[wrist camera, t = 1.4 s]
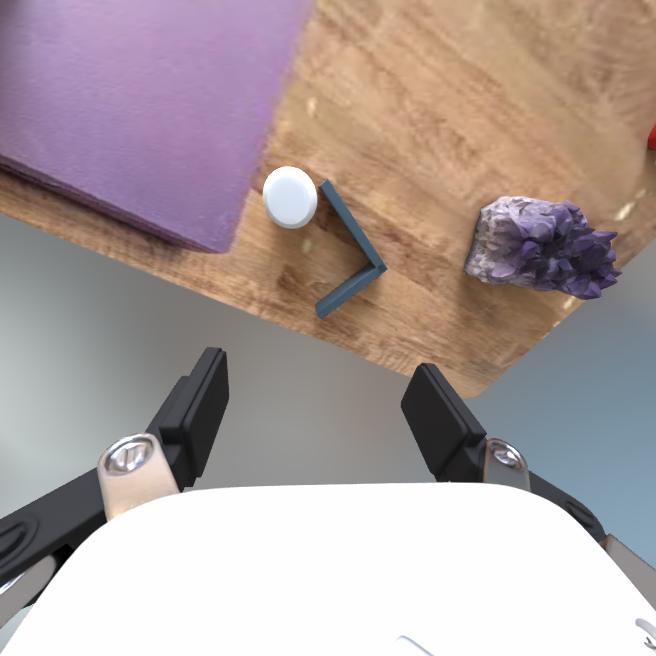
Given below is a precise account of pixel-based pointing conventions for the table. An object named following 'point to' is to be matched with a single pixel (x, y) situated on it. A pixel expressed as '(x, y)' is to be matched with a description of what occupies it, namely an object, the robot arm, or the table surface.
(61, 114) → the table surface
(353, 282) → the corner
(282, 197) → the pill bottle
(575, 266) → the geode
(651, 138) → the lever
